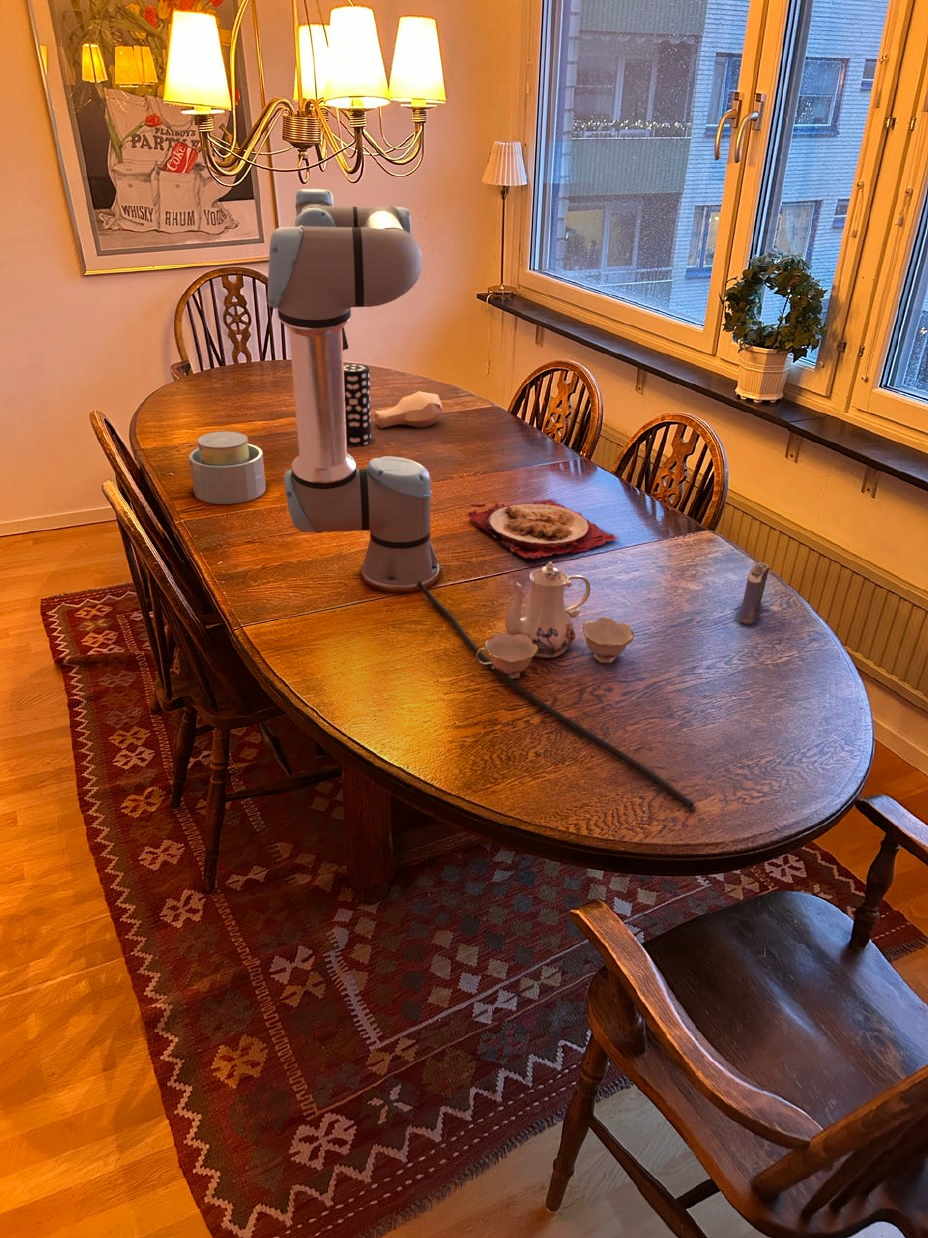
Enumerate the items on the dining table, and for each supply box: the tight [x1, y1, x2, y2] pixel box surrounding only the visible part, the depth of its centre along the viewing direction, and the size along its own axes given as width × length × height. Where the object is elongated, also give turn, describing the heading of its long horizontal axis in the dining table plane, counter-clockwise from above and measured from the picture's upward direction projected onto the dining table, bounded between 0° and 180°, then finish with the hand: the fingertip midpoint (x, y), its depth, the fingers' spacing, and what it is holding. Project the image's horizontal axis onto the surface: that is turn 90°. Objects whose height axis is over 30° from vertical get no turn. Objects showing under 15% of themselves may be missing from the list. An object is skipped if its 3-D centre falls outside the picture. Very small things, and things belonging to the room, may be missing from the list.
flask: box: [738, 560, 771, 626], centre depth 161 cm, size 9×3×11 cm, turn 151°
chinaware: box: [475, 561, 635, 680], centre depth 146 cm, size 28×17×17 cm, turn 114°
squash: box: [374, 390, 443, 429], centre depth 251 cm, size 11×20×9 cm, turn 112°
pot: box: [188, 443, 267, 505], centre depth 206 cm, size 17×17×9 cm
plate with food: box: [464, 499, 619, 560], centre depth 192 cm, size 24×26×3 cm
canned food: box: [197, 430, 250, 466], centre depth 205 cm, size 11×11×12 cm
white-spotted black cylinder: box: [343, 363, 372, 447], centre depth 235 cm, size 8×8×20 cm
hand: (324, 373), depth 193 cm, fingers open, 13 cm apart
